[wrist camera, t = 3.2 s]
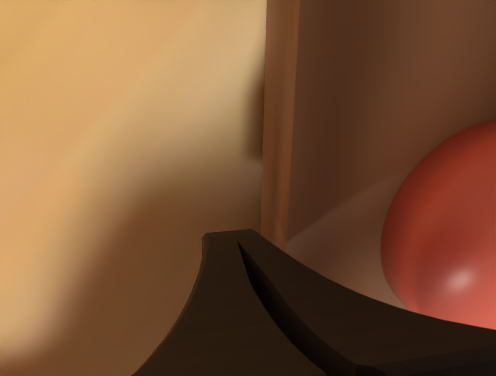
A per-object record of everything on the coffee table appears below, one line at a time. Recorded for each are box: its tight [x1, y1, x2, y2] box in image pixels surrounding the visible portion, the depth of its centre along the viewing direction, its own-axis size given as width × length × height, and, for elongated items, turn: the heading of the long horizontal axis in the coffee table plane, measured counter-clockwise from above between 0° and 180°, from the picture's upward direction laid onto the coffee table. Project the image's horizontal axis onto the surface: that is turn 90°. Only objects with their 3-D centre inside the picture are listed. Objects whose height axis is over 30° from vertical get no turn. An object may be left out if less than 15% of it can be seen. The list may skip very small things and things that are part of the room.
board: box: [260, 0, 496, 310], centre depth 16 cm, size 14×16×3 cm
